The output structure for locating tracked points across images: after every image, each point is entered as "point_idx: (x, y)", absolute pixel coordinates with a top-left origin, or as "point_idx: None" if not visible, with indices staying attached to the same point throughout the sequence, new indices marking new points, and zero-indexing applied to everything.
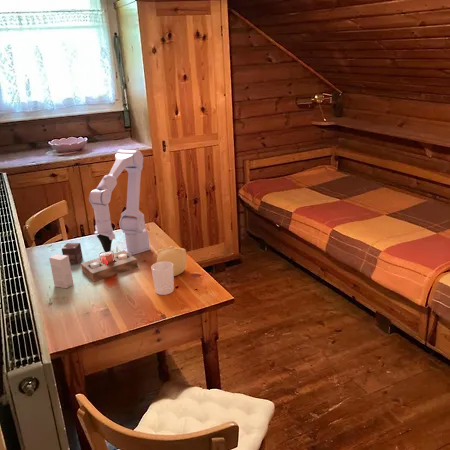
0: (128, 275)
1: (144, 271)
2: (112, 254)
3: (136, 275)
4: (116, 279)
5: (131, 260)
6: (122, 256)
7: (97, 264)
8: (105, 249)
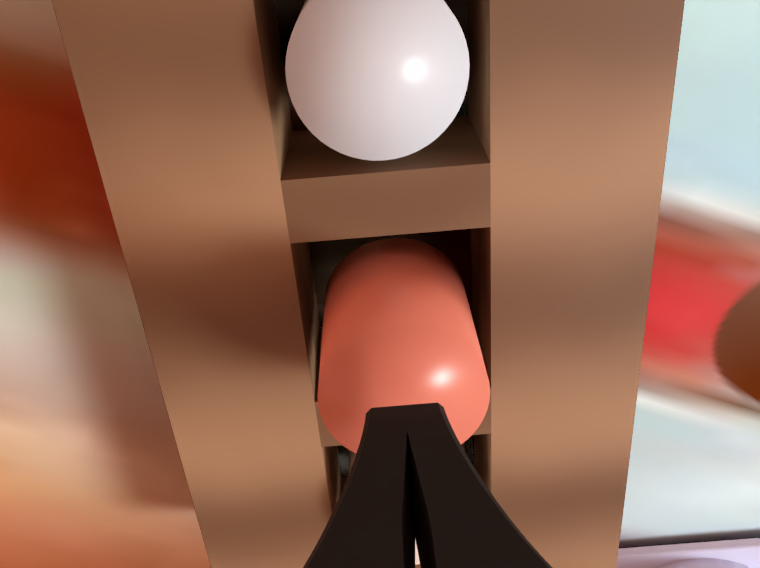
0: (58, 370)
1: (81, 524)
2: None
3: (13, 436)
4: (3, 216)
5: (221, 546)
6: None
7: (328, 113)
8: (357, 458)
